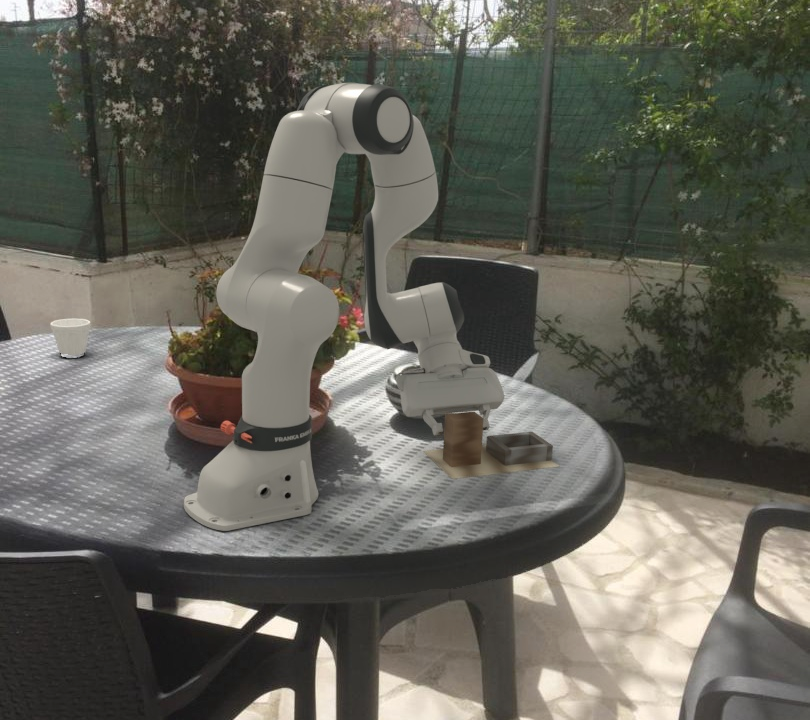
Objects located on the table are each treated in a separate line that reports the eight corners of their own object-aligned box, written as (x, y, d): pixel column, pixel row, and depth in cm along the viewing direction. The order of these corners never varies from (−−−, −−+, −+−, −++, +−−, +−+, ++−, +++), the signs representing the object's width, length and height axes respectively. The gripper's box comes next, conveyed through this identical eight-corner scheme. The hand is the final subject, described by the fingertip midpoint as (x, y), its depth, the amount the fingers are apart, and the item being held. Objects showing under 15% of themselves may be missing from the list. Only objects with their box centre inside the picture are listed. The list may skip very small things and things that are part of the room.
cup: (78, 349, 230) (75, 316, 228) (100, 355, 225) (98, 322, 222) (44, 356, 222) (42, 322, 220) (67, 363, 217) (64, 328, 214)
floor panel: (451, 486, 149) (453, 463, 148) (422, 458, 161) (423, 436, 160) (559, 473, 156) (561, 451, 155) (523, 447, 169) (525, 426, 168)
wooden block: (451, 467, 154) (453, 421, 151) (442, 459, 157) (445, 414, 155) (480, 463, 156) (483, 418, 153) (471, 456, 159) (474, 411, 157)
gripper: (398, 362, 156) (415, 429, 149) (496, 356, 163) (516, 419, 156) (389, 378, 161) (405, 444, 154) (484, 371, 168) (504, 433, 162)
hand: (462, 431), depth 155 cm, fingers open, 8 cm apart
